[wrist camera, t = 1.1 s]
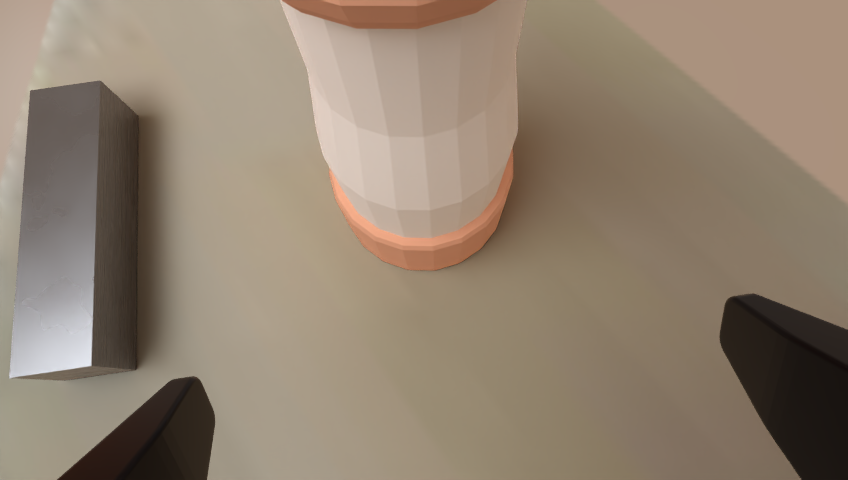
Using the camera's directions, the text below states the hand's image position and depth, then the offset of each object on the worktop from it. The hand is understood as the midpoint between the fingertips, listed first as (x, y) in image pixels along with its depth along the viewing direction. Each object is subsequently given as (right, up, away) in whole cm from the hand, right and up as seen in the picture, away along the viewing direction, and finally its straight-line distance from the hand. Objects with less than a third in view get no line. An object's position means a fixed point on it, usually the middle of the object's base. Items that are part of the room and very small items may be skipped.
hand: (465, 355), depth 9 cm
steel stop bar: (-15, +2, +15) cm, 21 cm away
